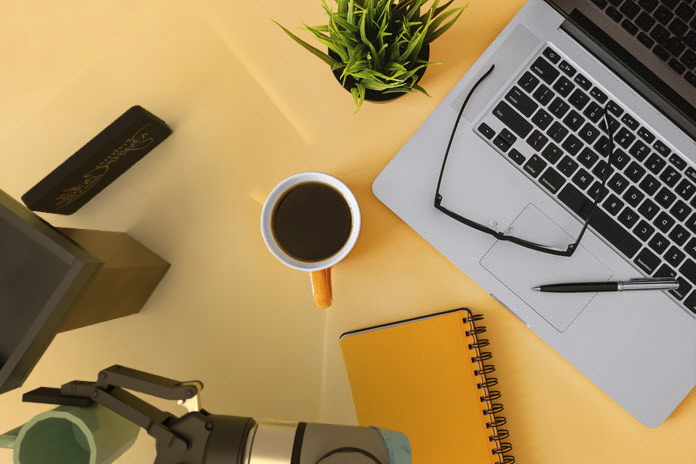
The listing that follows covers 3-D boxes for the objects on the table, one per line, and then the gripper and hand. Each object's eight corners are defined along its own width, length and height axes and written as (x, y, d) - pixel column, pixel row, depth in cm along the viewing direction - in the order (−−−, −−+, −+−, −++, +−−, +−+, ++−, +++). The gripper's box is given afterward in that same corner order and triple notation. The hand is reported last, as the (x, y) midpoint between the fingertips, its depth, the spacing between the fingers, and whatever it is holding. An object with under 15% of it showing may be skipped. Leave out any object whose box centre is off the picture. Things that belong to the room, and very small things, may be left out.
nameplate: (167, 122, 76) (136, 103, 66) (174, 132, 76) (144, 113, 66) (63, 206, 76) (17, 199, 66) (70, 216, 76) (25, 210, 66)
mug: (144, 388, 54) (100, 414, 45) (138, 461, 54) (91, 502, 45) (48, 380, 55) (-15, 404, 46) (41, 452, 54) (-24, 491, 45)
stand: (138, 313, 75) (15, 345, 49) (92, 280, 75) (-55, 294, 49) (171, 264, 75) (65, 270, 49) (125, 232, 75) (-5, 221, 49)
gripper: (252, 544, 51) (42, 524, 52) (267, 344, 52) (61, 327, 53) (232, 594, 43) (-13, 569, 44) (250, 359, 44) (10, 339, 45)
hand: (27, 438), depth 48 cm, fingers closed on mug, 8 cm apart
